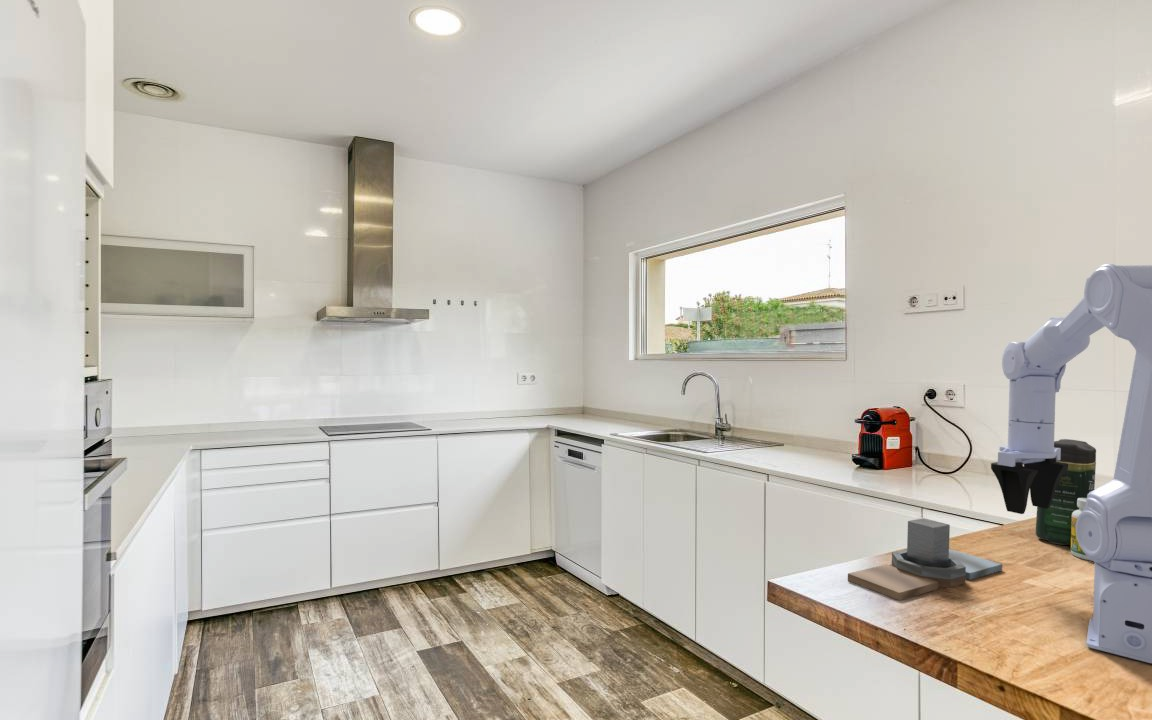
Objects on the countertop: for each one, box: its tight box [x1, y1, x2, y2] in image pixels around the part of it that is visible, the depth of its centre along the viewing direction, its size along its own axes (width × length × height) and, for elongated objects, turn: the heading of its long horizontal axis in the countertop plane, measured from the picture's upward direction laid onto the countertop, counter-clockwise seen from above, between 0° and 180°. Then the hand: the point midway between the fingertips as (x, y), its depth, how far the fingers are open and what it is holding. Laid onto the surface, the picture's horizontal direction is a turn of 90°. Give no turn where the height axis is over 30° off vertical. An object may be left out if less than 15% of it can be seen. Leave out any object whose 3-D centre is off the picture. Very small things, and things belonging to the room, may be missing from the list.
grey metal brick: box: [906, 517, 951, 568], centre depth 93 cm, size 4×4×8 cm
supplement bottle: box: [1070, 498, 1093, 562], centre depth 103 cm, size 5×5×10 cm
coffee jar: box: [1035, 438, 1097, 546], centre depth 112 cm, size 10×8×19 cm
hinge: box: [847, 548, 1003, 601], centre depth 93 cm, size 26×9×2 cm, turn 119°
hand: (1028, 509), depth 94 cm, fingers open, 7 cm apart
